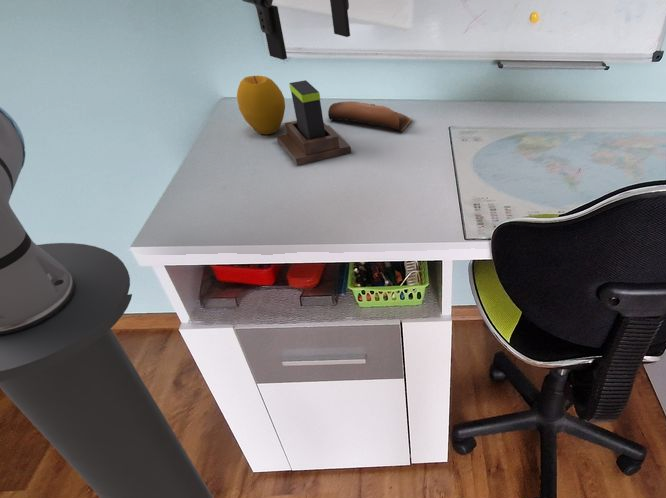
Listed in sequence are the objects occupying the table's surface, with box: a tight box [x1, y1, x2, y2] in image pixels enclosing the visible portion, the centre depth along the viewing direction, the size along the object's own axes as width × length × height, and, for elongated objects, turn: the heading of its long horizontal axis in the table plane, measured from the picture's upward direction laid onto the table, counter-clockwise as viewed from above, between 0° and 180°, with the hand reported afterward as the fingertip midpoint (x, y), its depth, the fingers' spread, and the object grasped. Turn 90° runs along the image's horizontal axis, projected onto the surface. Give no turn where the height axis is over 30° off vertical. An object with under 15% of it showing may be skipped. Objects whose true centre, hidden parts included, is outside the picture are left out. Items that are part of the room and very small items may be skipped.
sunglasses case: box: [327, 101, 412, 132], centre depth 125 cm, size 18×7×7 cm
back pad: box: [288, 80, 326, 141], centre depth 111 cm, size 4×7×11 cm, turn 33°
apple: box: [236, 75, 286, 135], centre depth 117 cm, size 10×10×12 cm
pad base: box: [276, 120, 352, 166], centre depth 115 cm, size 12×12×4 cm
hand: (312, 45), depth 82 cm, fingers open, 13 cm apart
